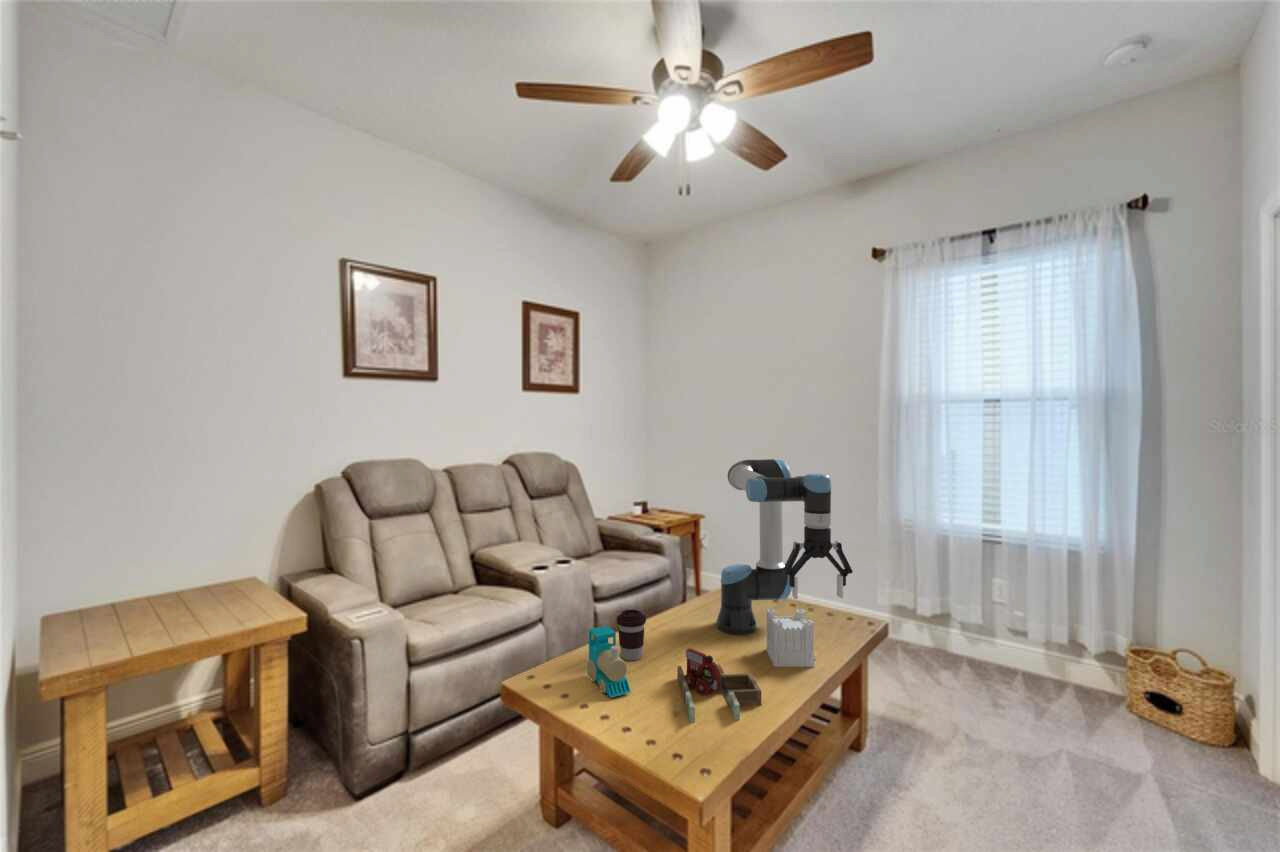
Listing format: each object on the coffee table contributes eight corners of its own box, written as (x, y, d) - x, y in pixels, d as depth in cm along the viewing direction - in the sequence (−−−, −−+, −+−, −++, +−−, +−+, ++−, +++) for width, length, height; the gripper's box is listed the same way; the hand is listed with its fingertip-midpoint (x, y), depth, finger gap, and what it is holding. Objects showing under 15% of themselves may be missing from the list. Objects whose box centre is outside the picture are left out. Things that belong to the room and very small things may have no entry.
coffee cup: (652, 656, 185) (651, 612, 184) (631, 666, 177) (631, 620, 177) (631, 647, 191) (630, 605, 191) (610, 657, 184) (610, 613, 184)
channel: (677, 678, 168) (677, 666, 168) (719, 677, 169) (719, 664, 169) (690, 722, 144) (690, 707, 144) (739, 719, 145) (739, 704, 145)
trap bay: (721, 688, 163) (720, 674, 162) (751, 686, 163) (751, 673, 163) (729, 706, 152) (729, 692, 152) (761, 704, 153) (761, 690, 153)
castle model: (766, 649, 189) (766, 608, 189) (809, 650, 189) (809, 609, 188) (774, 666, 176) (774, 623, 176) (820, 667, 176) (820, 623, 176)
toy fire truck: (711, 699, 156) (711, 663, 156) (679, 684, 165) (679, 650, 165) (726, 691, 161) (726, 656, 161) (694, 676, 170) (694, 644, 170)
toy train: (608, 701, 156) (608, 649, 155) (586, 677, 170) (586, 629, 170) (633, 694, 159) (632, 644, 159) (609, 671, 174) (609, 625, 174)
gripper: (779, 529, 157) (779, 602, 157) (864, 528, 158) (864, 600, 158) (772, 524, 164) (772, 593, 165) (853, 523, 165) (853, 592, 166)
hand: (817, 597), depth 162 cm, fingers open, 13 cm apart
